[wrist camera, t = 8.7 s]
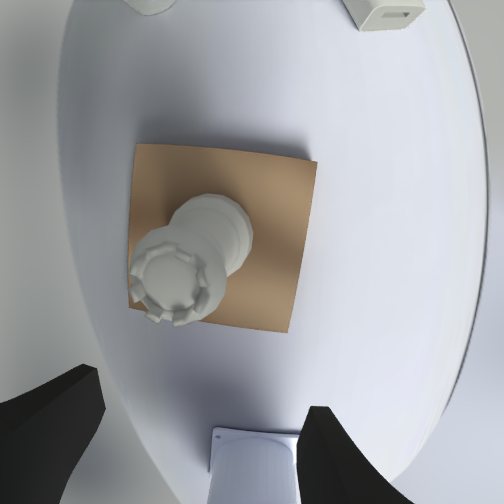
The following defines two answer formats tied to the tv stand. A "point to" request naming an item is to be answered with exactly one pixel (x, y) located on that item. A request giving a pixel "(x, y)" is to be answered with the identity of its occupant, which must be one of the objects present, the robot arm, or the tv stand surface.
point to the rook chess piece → (190, 259)
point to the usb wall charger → (384, 13)
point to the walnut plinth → (256, 207)
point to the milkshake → (149, 6)
